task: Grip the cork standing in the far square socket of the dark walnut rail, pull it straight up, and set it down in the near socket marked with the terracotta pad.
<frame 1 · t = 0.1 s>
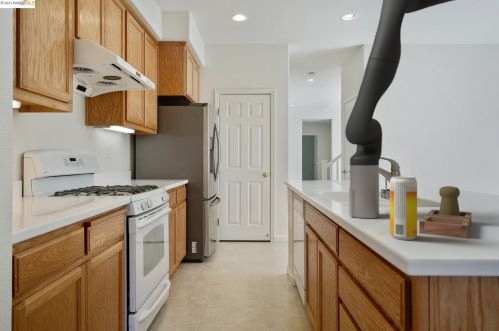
beer can: (403, 238, 80), on the countertop
cork: (449, 224, 97), resting in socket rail
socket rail: (447, 227, 91), on the countertop
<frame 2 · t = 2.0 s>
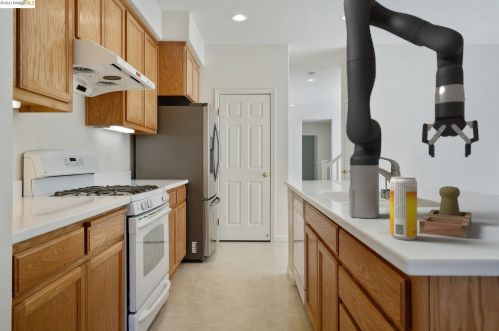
hand: (449, 157, 96), 20 cm above the countertop, tool pointing down, fingers open, 8 cm apart
nothing on the countertop moved.
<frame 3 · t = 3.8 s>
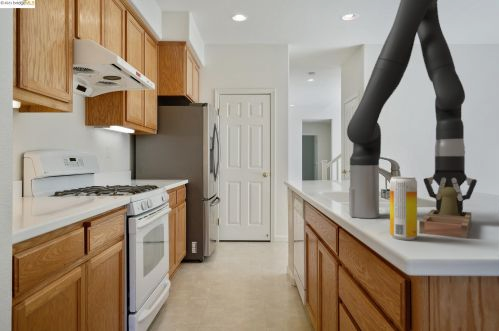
hand: (449, 212, 97), 3 cm above the countertop, tool pointing down, fingers closed on cork, 4 cm apart
cork: (449, 224, 97), resting in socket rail, touching gripper
everything else where it was.
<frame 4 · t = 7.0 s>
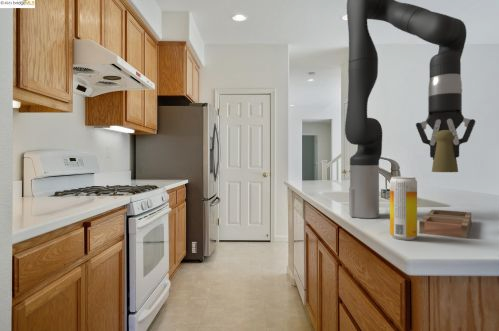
hand: (444, 159, 86), 19 cm above the countertop, tool pointing down, fingers closed on cork, 4 cm apart
cork: (444, 172, 86), point 16 cm above the countertop, touching gripper
everything else where it was.
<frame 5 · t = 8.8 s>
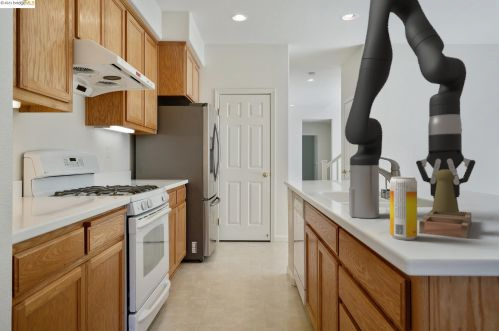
hand: (445, 198, 86), 9 cm above the countertop, tool pointing down, fingers closed on cork, 4 cm apart
cork: (445, 211, 86), point 5 cm above the countertop, touching gripper
everything else where it was.
when the fingers open (5 cm above the countertop, at t = 10.1 s): cork drops 1 cm, resting on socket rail.
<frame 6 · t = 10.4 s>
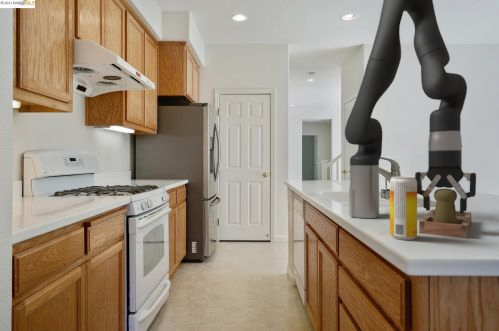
hand: (444, 211, 86), 5 cm above the countertop, tool pointing down, fingers open, 7 cm apart
cork: (445, 231, 86), resting on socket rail
everything else where it was.
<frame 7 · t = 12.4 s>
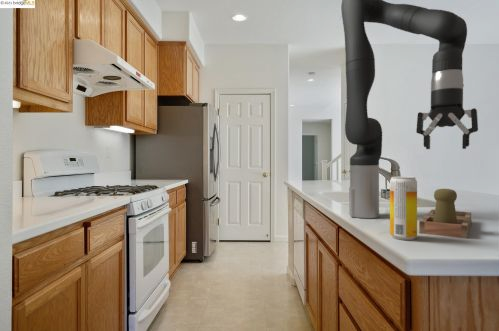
hand: (445, 149, 89), 22 cm above the countertop, tool pointing down, fingers open, 8 cm apart
nothing on the countertop moved.
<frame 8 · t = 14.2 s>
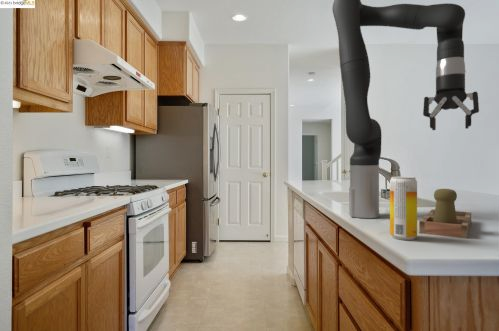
hand: (450, 129, 99), 28 cm above the countertop, tool pointing down, fingers open, 8 cm apart
nothing on the countertop moved.
at the end: cork 0.2 cm from the target spot, resting on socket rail; cork tilted 0°; the gripper is holding nothing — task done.
